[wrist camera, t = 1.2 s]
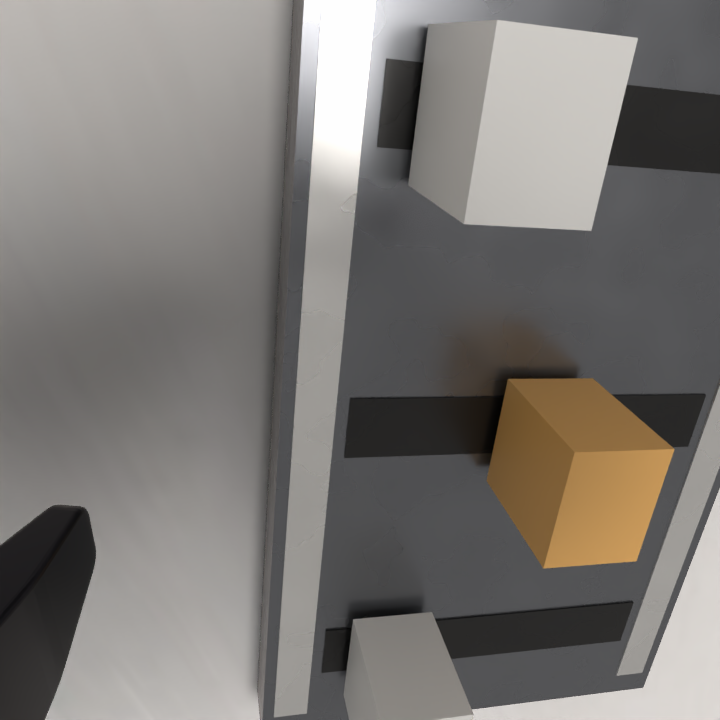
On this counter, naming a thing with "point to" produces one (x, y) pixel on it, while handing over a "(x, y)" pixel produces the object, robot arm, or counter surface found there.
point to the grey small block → (402, 671)
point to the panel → (479, 361)
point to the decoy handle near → (518, 121)
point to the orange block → (576, 471)
